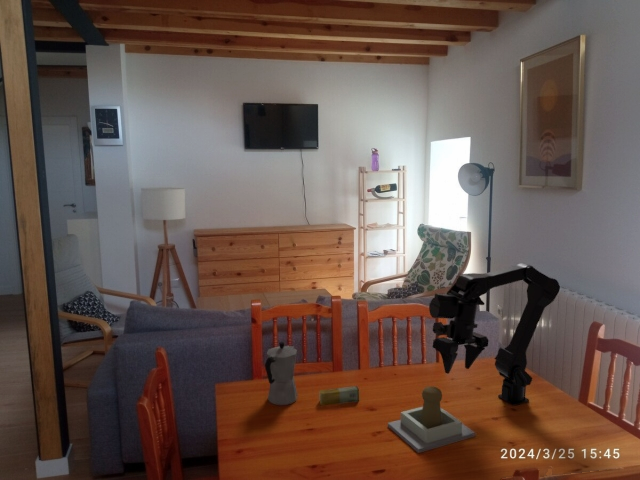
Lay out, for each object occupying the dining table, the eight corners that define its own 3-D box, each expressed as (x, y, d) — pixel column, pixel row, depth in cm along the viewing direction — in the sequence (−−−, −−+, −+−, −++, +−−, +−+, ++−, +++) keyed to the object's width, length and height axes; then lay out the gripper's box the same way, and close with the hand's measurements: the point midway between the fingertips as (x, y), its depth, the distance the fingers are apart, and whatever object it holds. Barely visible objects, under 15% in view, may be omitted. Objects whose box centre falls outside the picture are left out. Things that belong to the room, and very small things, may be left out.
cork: (437, 435, 127) (438, 395, 125) (415, 429, 130) (416, 389, 129) (446, 425, 132) (447, 387, 130) (424, 419, 135) (426, 381, 134)
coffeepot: (280, 386, 158) (279, 333, 156) (306, 392, 154) (305, 337, 151) (253, 407, 145) (252, 349, 142) (281, 414, 140) (279, 354, 138)
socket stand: (440, 412, 141) (441, 399, 141) (475, 436, 129) (475, 421, 128) (387, 426, 134) (387, 412, 133) (418, 453, 121) (418, 438, 121)
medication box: (357, 397, 151) (357, 385, 150) (359, 401, 148) (359, 389, 148) (319, 402, 148) (318, 389, 148) (321, 406, 146) (320, 393, 145)
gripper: (461, 309, 152) (454, 357, 154) (421, 313, 141) (414, 365, 143) (492, 319, 144) (485, 370, 145) (452, 324, 132) (444, 380, 134)
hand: (457, 370), depth 142 cm, fingers open, 9 cm apart
